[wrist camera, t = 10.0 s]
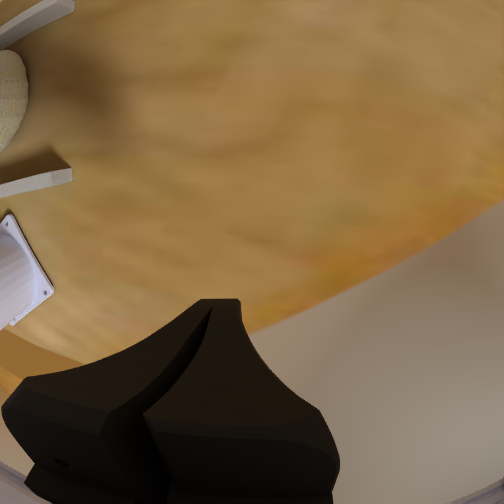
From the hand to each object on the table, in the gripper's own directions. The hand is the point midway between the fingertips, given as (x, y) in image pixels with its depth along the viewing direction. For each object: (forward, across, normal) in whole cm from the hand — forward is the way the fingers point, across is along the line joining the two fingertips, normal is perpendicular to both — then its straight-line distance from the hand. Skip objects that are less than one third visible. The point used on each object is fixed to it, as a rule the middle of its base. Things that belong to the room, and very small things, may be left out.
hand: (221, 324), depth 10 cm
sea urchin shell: (+10, +20, -13) cm, 26 cm away
